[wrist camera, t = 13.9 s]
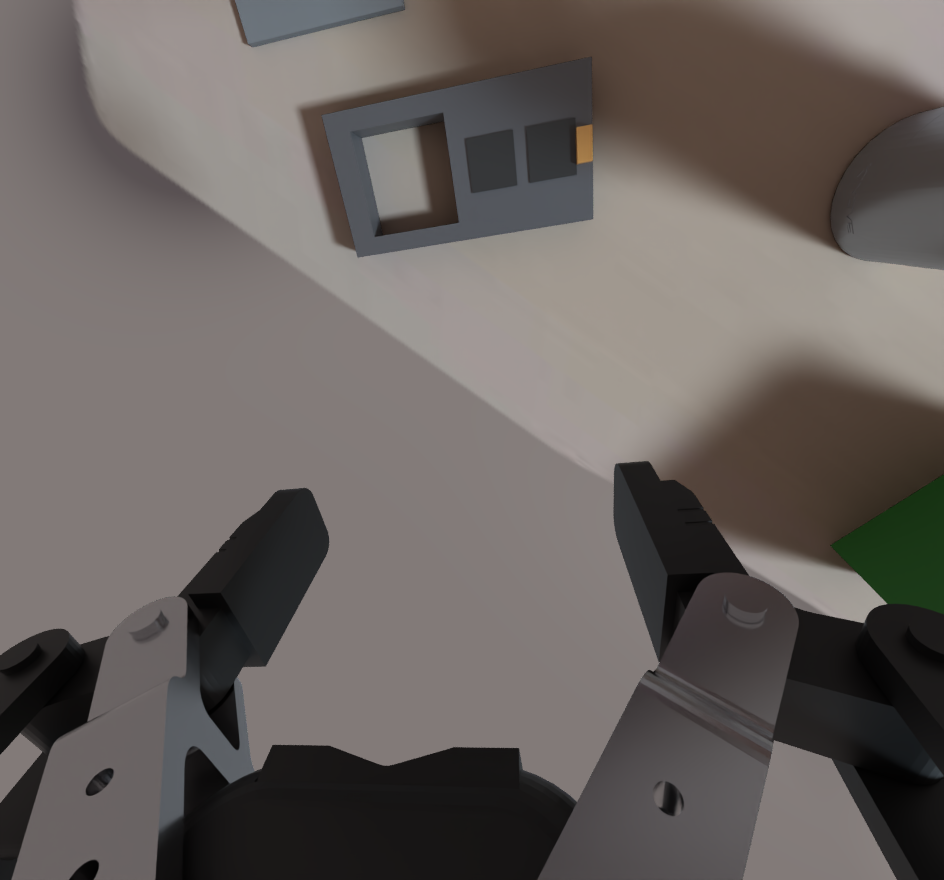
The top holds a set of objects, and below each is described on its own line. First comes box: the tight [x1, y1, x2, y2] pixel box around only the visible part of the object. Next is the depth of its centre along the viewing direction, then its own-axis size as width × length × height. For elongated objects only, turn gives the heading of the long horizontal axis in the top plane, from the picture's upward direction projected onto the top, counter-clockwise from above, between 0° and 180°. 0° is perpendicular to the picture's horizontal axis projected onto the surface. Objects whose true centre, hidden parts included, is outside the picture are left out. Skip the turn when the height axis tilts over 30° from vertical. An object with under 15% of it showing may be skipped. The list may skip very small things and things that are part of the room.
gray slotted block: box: [322, 57, 593, 257], centre depth 30 cm, size 18×9×3 cm, turn 99°
